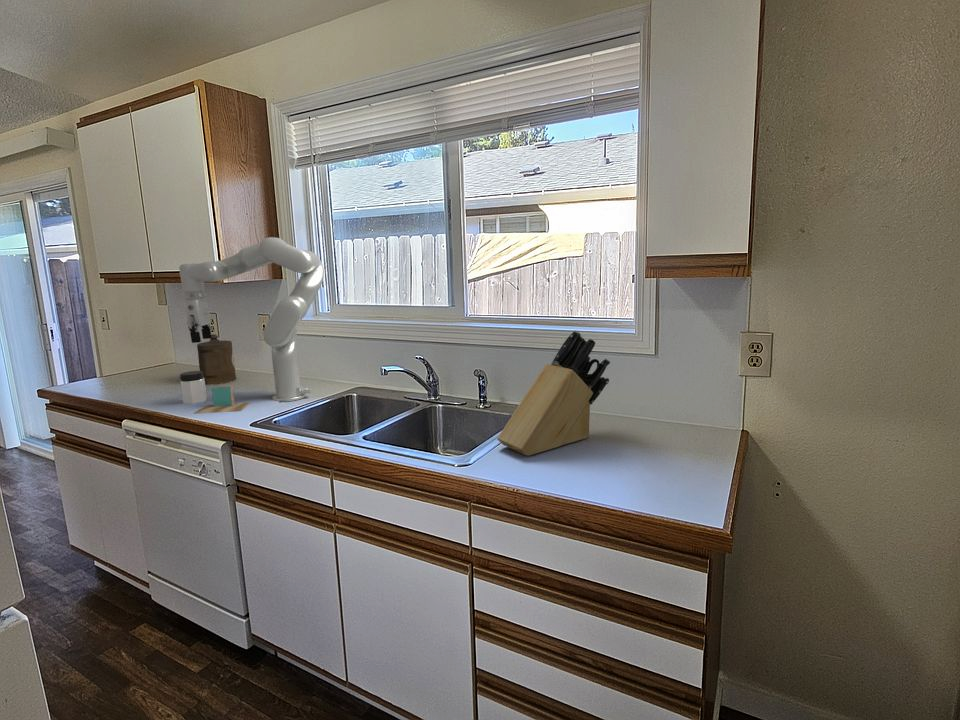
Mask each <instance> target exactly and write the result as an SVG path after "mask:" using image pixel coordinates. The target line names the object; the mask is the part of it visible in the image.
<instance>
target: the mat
mask: <svg viewBox="0 0 960 720" xmlns="http://www.w3.org/2000/svg"><path fill="white" fill-rule="evenodd" d="M251 404H252V402H238V403H237V402H234V405H233V406H215V407H214V403H213V404H206V405H204V406H203V407H201V408H200V409H198V410H196V411H195V412H193V414H212V413H213V414H214V413H230V412H233V413H235V412H241V411H243V410H244V409H246V408H247V407H248V406H249V405H251Z"/></svg>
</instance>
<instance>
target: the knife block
mask: <svg viewBox="0 0 960 720" xmlns="http://www.w3.org/2000/svg"><path fill="white" fill-rule="evenodd" d="M595 345H596V341H595V340H593V339H591V338H590V339H588V340H586V339H585V338H584V337H583V336H581V333H580V332H579V331H578V330H574V331H572V333H570V335H569V336H568V337H567V338H566V339H565V341H564V342H563V343H562V345H561V347H560V348H559V350H558V352H557V353H556V355H555V356H554V358H553V360H552V362H551V364H548V363H547V364H545V365H544V367H543V368H542V370H541V371H540V373H539V374H538V375H537V377H536V378H535V380H534V381H533V383H532V385H531V386H530V388H529V389H528V390H527V392H526V394H525V395H524V396H523V398H522V400H521V402H520V403H519V404H518V406H517V408H516V409H515V410H514V412H513V413H512V414H511V417H510V418H509V420H508V421H507V423H506V424H505V426H504V427H503V429H502V430H501V432H500V433H499V435H498V436H497V439H496V440H497V441H498V442H500V444H502V445H503V446H506V447H507V448H509V449H512V450H513V451H515V452H518V453H521V454H522V455H525V456H532V455H535V454H538V453H542V452H545V451H549V450H553V449H556V448H558V447H561V446H563V445H568V444H571V443H574V442H579V441H580V440H585V439H587V438H589V436H590V419H591V417H590V414H591V413H590V411H591V405H593V403H594V402H595V401H596V400H597V399H598V397H599V396H600V394H601V393H602V392H603V391H604V389H605V387H606V386H607V385H608V384H609V383H610V378H608V377H603V374H604V372H605V370H606V369H607V367H608V366H609V365H610V364H611V361H609V360H608V359H607V358H604V360H602V361H601V362H600V361H599V359H597V358H594V359H591V356H590V354H591V353H592V351H593V349H594V347H595ZM594 363H596V368H595V370H593V372H592V373H589V372H590V371H591V368H592V367H593V364H594Z"/></svg>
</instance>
